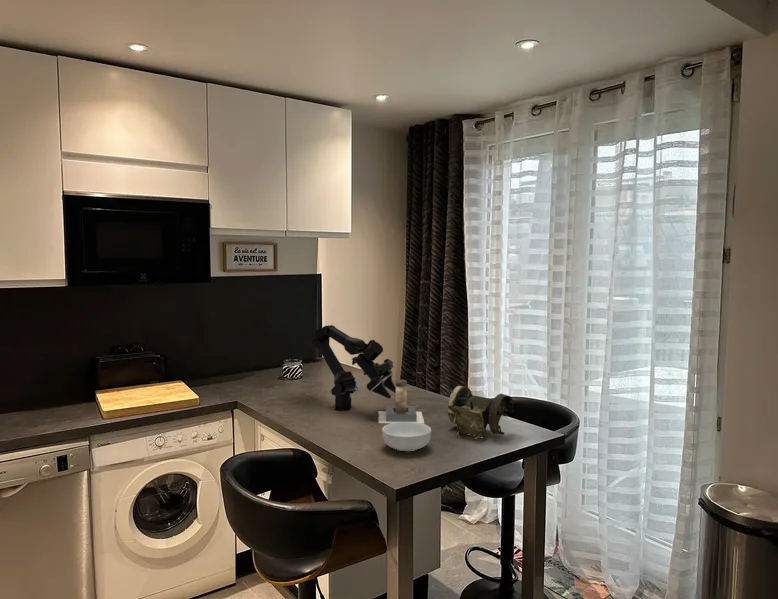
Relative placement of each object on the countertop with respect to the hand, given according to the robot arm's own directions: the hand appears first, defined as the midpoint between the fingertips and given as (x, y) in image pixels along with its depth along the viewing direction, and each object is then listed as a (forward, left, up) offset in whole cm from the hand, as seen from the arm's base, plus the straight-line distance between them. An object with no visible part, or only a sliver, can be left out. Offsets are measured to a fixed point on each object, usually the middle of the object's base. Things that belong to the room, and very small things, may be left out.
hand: (393, 395), depth 225 cm
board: (+3, -1, -9) cm, 10 cm away
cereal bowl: (+4, -35, -10) cm, 37 cm away
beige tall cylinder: (+3, -1, -9) cm, 9 cm away
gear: (-20, +44, -10) cm, 49 cm away
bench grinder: (+31, -19, -10) cm, 37 cm away
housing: (+3, -1, -9) cm, 9 cm away
